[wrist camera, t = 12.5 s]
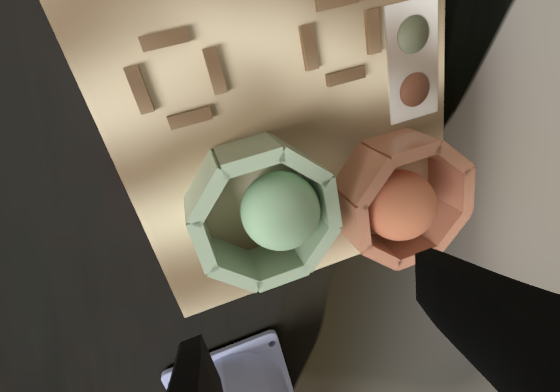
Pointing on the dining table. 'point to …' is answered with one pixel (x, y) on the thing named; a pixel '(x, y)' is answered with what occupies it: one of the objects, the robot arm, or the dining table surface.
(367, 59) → the board
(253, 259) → the green octagonal ring
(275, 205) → the sage ball
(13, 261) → the dining table surface
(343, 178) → the terracotta tube
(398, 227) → the terracotta ball
